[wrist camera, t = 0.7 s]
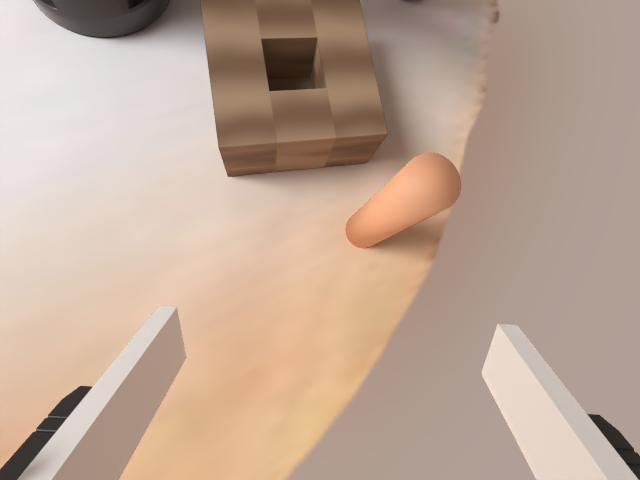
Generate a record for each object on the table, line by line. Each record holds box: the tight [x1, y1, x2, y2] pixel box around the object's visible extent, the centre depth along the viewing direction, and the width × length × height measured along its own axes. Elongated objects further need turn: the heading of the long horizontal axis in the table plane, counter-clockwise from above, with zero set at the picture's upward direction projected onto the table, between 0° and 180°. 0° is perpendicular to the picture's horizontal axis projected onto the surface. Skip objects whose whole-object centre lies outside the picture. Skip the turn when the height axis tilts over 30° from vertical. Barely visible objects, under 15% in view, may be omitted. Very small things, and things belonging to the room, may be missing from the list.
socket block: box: [200, 0, 388, 177], centre depth 35 cm, size 16×16×7 cm
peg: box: [346, 153, 461, 248], centre depth 29 cm, size 4×4×16 cm
